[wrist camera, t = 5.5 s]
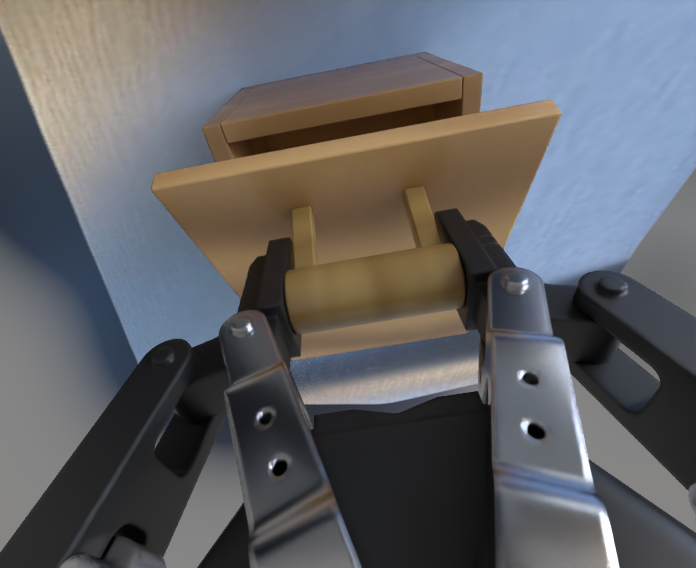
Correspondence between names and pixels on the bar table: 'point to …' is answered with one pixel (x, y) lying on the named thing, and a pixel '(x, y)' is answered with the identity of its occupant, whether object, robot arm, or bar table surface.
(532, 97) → the bar table surface
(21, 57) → the bar table surface
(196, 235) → the lid
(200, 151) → the bar table surface
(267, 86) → the chest
